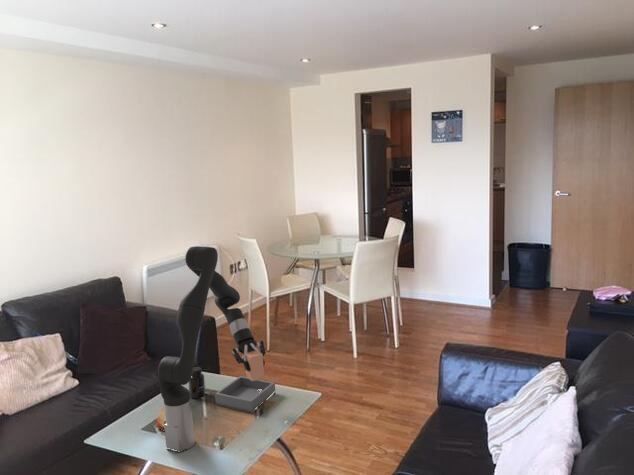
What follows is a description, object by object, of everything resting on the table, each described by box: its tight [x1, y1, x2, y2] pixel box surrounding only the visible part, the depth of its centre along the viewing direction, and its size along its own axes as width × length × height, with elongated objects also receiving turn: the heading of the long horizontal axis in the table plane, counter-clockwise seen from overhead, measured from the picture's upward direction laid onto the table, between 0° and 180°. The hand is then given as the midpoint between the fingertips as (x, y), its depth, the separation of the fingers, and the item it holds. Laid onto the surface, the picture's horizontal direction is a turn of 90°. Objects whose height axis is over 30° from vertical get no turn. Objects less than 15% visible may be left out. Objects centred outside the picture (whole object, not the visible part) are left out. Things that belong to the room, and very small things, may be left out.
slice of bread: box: [155, 406, 166, 432], centre depth 210 cm, size 18×18×4 cm
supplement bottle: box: [187, 366, 206, 399], centre depth 227 cm, size 7×7×12 cm
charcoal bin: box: [214, 375, 276, 414], centre depth 222 cm, size 18×18×5 cm
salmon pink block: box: [245, 350, 265, 381], centre depth 211 cm, size 6×6×10 cm
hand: (256, 368), depth 210 cm, fingers closed on salmon pink block, 5 cm apart
